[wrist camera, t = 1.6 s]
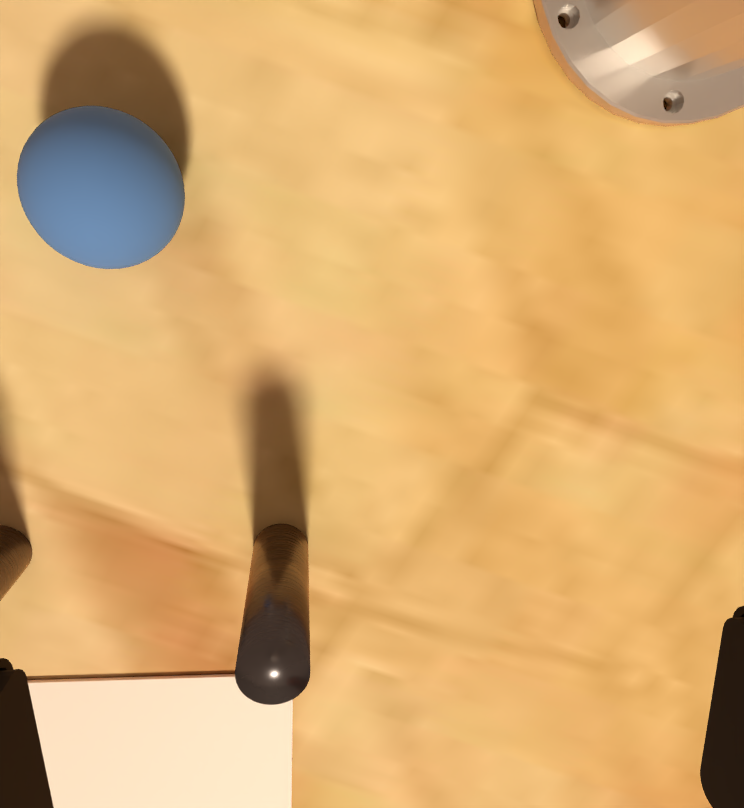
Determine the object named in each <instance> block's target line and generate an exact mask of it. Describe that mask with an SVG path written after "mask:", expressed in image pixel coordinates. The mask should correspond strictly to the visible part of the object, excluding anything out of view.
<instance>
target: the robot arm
mask: <svg viewBox="0 0 744 808" xmlns="http://www.w3.org/2000/svg"><path fill="white" fill-rule="evenodd" d="M533 1H534V5H535V9H536V13H537V17H538V22H539V26H540V28H541V30H542V32H543V35H544V37H545V39H546V42H547V44H548V46H549V49H550V51H551V53H552V55H553V57H554V58H555V59H556V61H557V62H558V64H559V65H560V67H561V68H562V70H563V71H564V73H565V74H566V76H567V77H568V79H569V80H570V81H571V82H572V83H573V84H574V85H575V86H576V87H577V88H578V89H579V90H581V91H582V92H583V93H584V94H585V95H586V96H587V97H588V98H589V99H590V100H591V101H593V102H595V103H596V104H598V105H599V106H601V107H603V108H604V109H606V110H607V111H609V112H611V113H612V114H614V115H617V116H620V117H623V118H625V119H628V120H631V121H634V122H637V123H641V124H650V125H658V126H675V125H685V124H694V123H698V122H701V121H705V120H709V119H714V118H718V117H720V116H723V115H725V114H727V113H730V112H732V111H734V110H737V109H739V108H742V107H744V0H533ZM558 16H561V17H563V18H564V19H565V22H566V25H565V28H563V27H561V25H560V24H559V22H558ZM663 100H665V101H666V103H667V107H666V110H665V109H664V107H663ZM700 777H701V783H702V787H703V790H704V793H705V795H706V797H707V799H708V801H709V803H710V804H711V806H712V807H713V808H744V606H742V607H739V608H738V609H737V610H736V611H735V612H734V615H733V618H729V619H727V620H726V622H725V623H724V627H723V632H722V638H721V644H720V650H719V657H718V663H717V669H716V675H715V682H714V688H713V694H712V700H711V707H710V713H709V719H708V725H707V731H706V738H705V744H704V750H703V756H702V763H701V769H700ZM0 808H54V807H53V802H52V797H51V792H50V787H49V783H48V778H47V773H46V768H45V763H44V759H43V754H42V749H41V744H40V739H39V734H38V730H37V725H36V720H35V715H34V710H33V705H32V701H31V696H30V691H29V686H28V681H27V677H26V674H25V673H24V671H23V670H20V669H15V670H13V667H12V664H11V663H10V662H9V660H7V659H4V658H0Z"/></svg>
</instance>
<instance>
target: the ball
mask: <svg viewBox="0 0 744 808" xmlns="http://www.w3.org/2000/svg"><path fill="white" fill-rule="evenodd" d="M17 186H18V193H19V197H20V201H21V204H22V207H23V209H24V212H25V214H26V216H27V218H28V220H29V221H30V223H31V225H32V226H33V228H34V229H35V230H36V232H37V233H38V234H39V235H40V237H41V238H42V239H43V240H44V241H45V242H46V243H47V244H48V245H50V246H51V247H52V248H53V249H54V250H56V251H57V252H59V253H60V254H62V255H63V256H65V257H67V258H69V259H71V260H73V261H75V262H78V263H81V264H83V265H86V266H90V267H95V268H103V269H120V268H126V267H131V266H134V265H137V264H140V263H142V262H144V261H147V260H148V259H150V258H152V257H153V256H155V255H156V254H158V253H159V252H160V251H161V250H162V249H163V248H165V246H166V245H167V244H168V243H169V242H170V241H171V239H172V238H173V236H174V235H175V233H176V231H177V229H178V227H179V225H180V222H181V219H182V215H183V210H184V201H185V192H184V183H183V179H182V174H181V171H180V169H179V166H178V163H177V161H176V159H175V157H174V155H173V153H172V152H171V150H170V149H169V147H168V146H167V144H166V143H165V142H164V141H163V140H162V139H161V137H160V136H159V135H158V134H157V133H156V132H154V131H153V130H152V129H151V128H150V127H149V126H148V125H146V124H145V123H143V122H142V121H141V120H139V119H137V118H135V117H133V116H132V115H129V114H127V113H125V112H122V111H119V110H116V109H112V108H108V107H102V106H81V107H75V108H70V109H67V110H64V111H61V112H59V113H57V114H55V115H52V116H51V117H50V118H48V119H47V120H45V121H44V122H43V123H41V124H40V125H39V126H38V127H37V128H36V129H35V131H34V132H33V133H32V134H31V136H30V137H29V138H28V140H27V142H26V144H25V145H24V147H23V150H22V152H21V155H20V159H19V163H18V170H17Z"/></svg>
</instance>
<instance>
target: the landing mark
mask: <svg viewBox="0 0 744 808" xmlns="http://www.w3.org/2000/svg"><path fill="white" fill-rule="evenodd" d="M27 681H28V686H29V691H30V696H31V701H32V705H33V710H34V715H35V720H36V725H37V730H38V734H39V739H40V744H41V749H42V754H43V759H44V763H45V768H46V773H47V778H48V783H49V787H50V792H51V797H52V802H53V807H54V808H291V797H292V717H293V699H292V700H290V701H288V702H285V703H282V704H276V705H266V704H261V703H257V702H254V701H252V700H251V699H249V698H247V697H246V696H245V695H244V694H243V693H242V692H241V691H240V689H239V688H238V686H237V683H236V680H235V674H219V675H185V676H152V677H119V678H86V679H53V680H27Z"/></svg>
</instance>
